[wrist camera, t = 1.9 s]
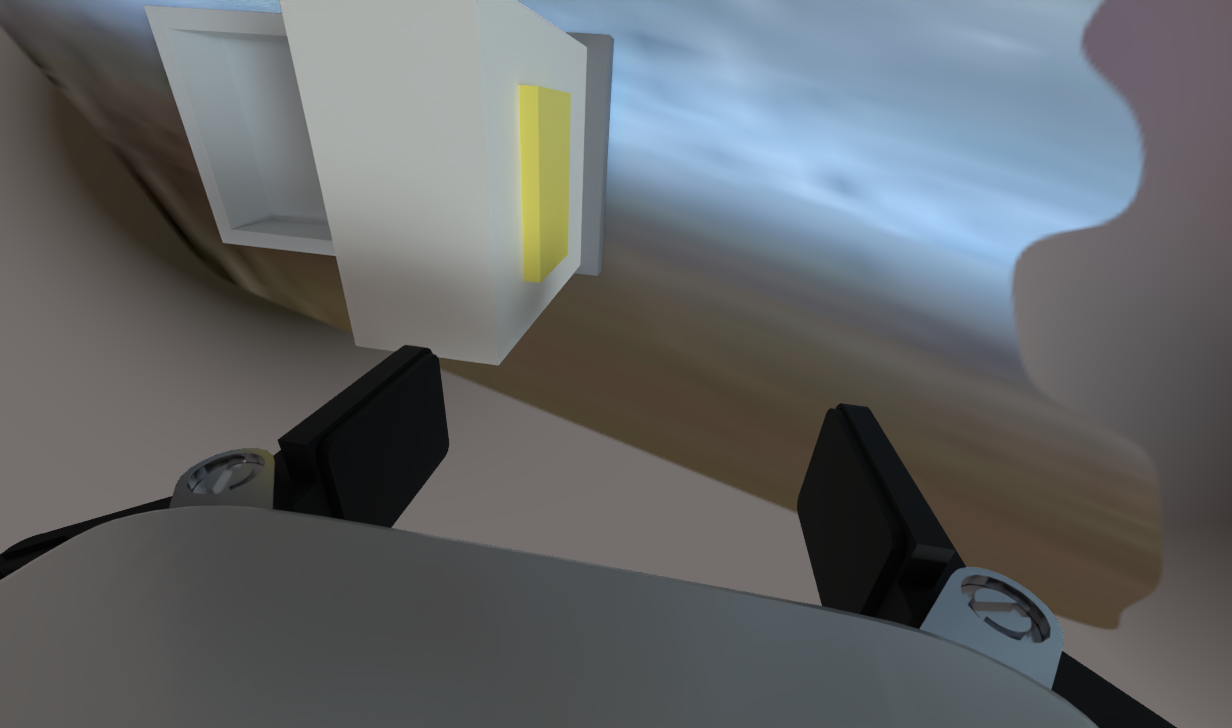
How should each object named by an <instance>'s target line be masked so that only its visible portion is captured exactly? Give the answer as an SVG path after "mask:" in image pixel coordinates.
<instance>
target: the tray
mask: <svg viewBox="0 0 1232 728" xmlns="http://www.w3.org/2000/svg"><path fill="white" fill-rule="evenodd" d="M144 8H145V11H146V14H147V17H148V20H149V23H150V26H151V29H152V32H153V35H154V38H155V41H156V44H157V47H158V50H159V53H160V56H161V59H162V62H163V65H164V68H165V71H166V74H167V77H168V80H169V83H170V86H171V89H172V92H173V95H174V98H175V101H176V104H177V107H178V110H179V113H180V116H181V119H182V122H183V125H184V128H185V131H186V134H187V137H188V140H189V143H190V146H191V149H192V152H193V155H194V158H195V161H196V164H197V167H198V170H199V173H200V176H201V179H202V182H203V185H204V188H205V191H206V194H207V197H208V200H209V203H210V206H211V209H212V212H213V215H214V218H215V221H216V224H217V227H218V230H219V233H220V236H221V239H222V242H223V243H229V244H238V245H246V246H255V247H263V248H272V249H281V250H289V251H298V252H307V253H315V254H324V255H333V256H336V254H335V249H334V245H333V240H332V236H331V231H330V227H329V222H328V218H327V213H326V209H325V204H324V200H323V195H322V191H321V186H320V182H319V177H318V173H317V168H316V164H315V159H314V155H313V150H312V146H311V141H310V137H309V132H308V128H307V123H306V118H305V114H304V109H303V105H302V100H301V96H300V91H299V87H298V82H297V78H296V73H295V69H294V64H293V60H292V55H291V51H290V46H289V42H288V37H287V33H286V28H285V24H284V19H283V15H282V13H265V12H247V11H230V10H212V9H195V8H177V7H160V6H144Z"/></svg>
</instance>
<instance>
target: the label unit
mask: <svg viewBox="0 0 1232 728" xmlns="http://www.w3.org/2000/svg"><path fill="white" fill-rule="evenodd" d="M279 1H280V6H281V10H282V15H283V19H284V24H285V28H286V33H287V37H288V42H289V46H290V51H291V55H292V60H293V64H294V69H295V73H296V78H297V82H298V87H299V91H300V96H301V100H302V105H303V109H304V114H305V118H306V123H307V128H308V132H309V137H310V141H311V146H312V150H313V155H314V159H315V164H316V168H317V173H318V177H319V182H320V186H321V191H322V195H323V200H324V204H325V209H326V213H327V218H328V222H329V227H330V231H331V236H332V240H333V245H334V249H335V254H336V259H337V263H338V268H339V272H340V277H341V281H342V286H343V290H344V295H345V299H346V304H347V308H348V313H349V317H350V322H351V326H352V331H353V335H354V340H355V344H356V346H361V347H368V348H375V349H382V350H390V351H397V350H398V349H399V348H401V347H402V346H404V345H412V346H419V347H426V348H429V349H431V351H432V353H433V354H435V355H437V357H441V358H448V359H455V360H463V361H470V362H477V363H485V364H492V365H499V364H500V363H501V362H502V360H503V359H504V358H505V357H506V356H507V354H508V353H509V352H510V351H511V349H512V348H513V347H514V346H515V344H516V343H517V342H518V341H519V340H520V338H521V337H522V336H523V335H524V333H525V332H526V331H527V330H528V329H529V327H530V326H531V325H532V324H533V322H534V321H535V320H536V319H537V317H538V316H539V315H540V314H541V313H542V311H543V310H544V309H545V308H546V306H547V305H548V304H549V303H550V302H551V300H552V299H553V298H554V297H555V295H556V294H557V293H558V292H559V291H560V289H561V288H562V287H563V286H564V284H565V283H566V282H567V281H568V279H569V278H570V277H571V276H572V275H573V273H577V274H586V275H595V276H598V274H599V273H600V271H601V270H602V252H603V233H604V215H605V196H606V177H607V158H608V140H609V121H610V102H611V83H612V65H613V46H614V39H613V38H612V37H611V36H610V35H603V34H585V33H568V32H564V31H562V30H561V29H559V28H558V27H556V26H555V25H553V24H552V23H550V22H549V21H547V20H546V19H544V18H543V17H541V16H540V15H538V14H537V13H535V12H534V11H532V10H531V9H529V8H528V7H526V6H525V5H523V4H522V3H520V2H519V1H517V0H279Z"/></svg>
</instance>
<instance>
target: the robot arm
mask: <svg viewBox="0 0 1232 728" xmlns="http://www.w3.org/2000/svg"><path fill="white" fill-rule="evenodd" d="M278 442H279V445H280V448H281V450H280V451H279V452H278V453H276V454H275V455H274V456H273V455H272V454H271V453H269V452H268V451H267V450H262V449H259V448H243V449H237V450H230V451H227V452H223V453H220V454H217V455H214V456H212V457H210V458H207V459H205V460H203V461H201V462H199V463H198V464H196V465H194V466H193V467H191V468H190V469H188V470H187V471H186V472H185V473H184V474H183V475H182V476H181V477H180V479H179V480H178V482H177V484H176V486H175V489H174V493H173V496H171V497H167V498H164V499H161V500H157V501H154V502H150V503H147V504H143V505H140V506H137V507H133V508H129V509H126V510H123V511H119V512H115V513H112V514H109V515H105V516H102V517H98V518H95V519H91V520H88V521H84V522H81V523H78V524H74V525H70V526H67V527H63V528H60V529H57V530H53V531H50V532H47V533H43V534H39V535H35V536H32V537H30V538H27V539H25V540H23V541H20V542H19V543H17V544H15V545H13V546H11V547H10V548H8V549H7V550H6V551H5V552H3V553H2V554H0V728H1177V727H1175V726H1173V725H1172V724H1170V723H1169V722H1168V721H1166V720H1165V719H1163V718H1162V717H1160V716H1159V715H1157V714H1156V713H1154V712H1153V711H1151V710H1149V709H1148V708H1147V707H1145V706H1144V705H1142V704H1141V703H1139V702H1138V701H1136V700H1135V699H1133V698H1131V697H1130V696H1129V695H1127V694H1126V693H1124V692H1123V691H1121V690H1120V689H1118V688H1117V687H1115V686H1114V685H1112V684H1111V683H1109V682H1108V681H1106V680H1105V679H1103V678H1102V677H1100V676H1099V675H1097V674H1096V673H1095V672H1093V671H1092V670H1090V669H1089V668H1087V667H1086V666H1084V665H1083V664H1081V663H1079V662H1078V661H1076V660H1075V659H1074V658H1072V657H1071V656H1069V655H1068V654H1066V653H1065V652H1063V651H1062V648H1063V645H1064V637H1063V630H1062V628H1061V626H1060V624H1059V622H1058V620H1057V618H1056V617H1055V616H1054V615H1053V613H1052V612H1051V611H1050V610H1049V608H1048V607H1047V606H1046V605H1045V604H1044V603H1043V602H1042V601H1041V600H1039V599H1038V598H1037V597H1036V596H1035V595H1034V594H1033V593H1032V592H1030V591H1029V590H1027V589H1026V588H1024V587H1023V586H1021V585H1020V584H1018V583H1017V582H1015V581H1013V580H1011V579H1009V578H1007V577H1005V576H1003V575H1001V574H999V573H996V572H993V571H990V570H986V569H983V568H975V567H966V566H965V564H964V562H963V561H962V559H961V558H960V556H959V554H958V553H957V551H956V549H955V548H954V546H953V544H952V543H951V541H950V540H949V538H948V536H947V535H946V533H945V531H944V530H943V528H942V526H941V525H940V523H939V522H938V520H937V518H936V517H935V515H934V513H933V512H932V510H931V508H930V507H929V505H928V503H927V502H926V500H925V499H924V497H923V495H922V494H921V492H920V490H919V489H918V487H917V485H916V484H915V482H914V481H913V479H912V477H911V476H910V474H909V473H908V471H907V469H906V468H905V466H904V464H903V463H902V461H901V460H900V458H899V456H898V455H897V453H896V451H895V450H894V448H893V446H892V445H891V443H890V441H889V440H888V438H887V437H886V435H885V433H884V432H883V430H882V428H881V427H880V425H879V423H878V422H877V420H876V419H875V417H874V415H873V414H872V412H871V410H870V409H869V408H868V407H864V406H857V405H849V404H842V403H841V404H839V405H838V406H837V407H836V409H832V408H830V409H829V410H828V411H827V413H826V416H825V419H824V422H823V425H822V428H821V431H820V434H819V437H818V440H817V443H816V446H815V449H814V452H813V455H812V458H811V461H810V464H809V467H808V470H807V473H806V476H805V479H804V482H803V485H802V488H801V491H800V494H799V497H798V502H797V511H798V515H799V519H800V523H801V527H802V531H803V535H804V539H805V542H806V546H807V550H808V554H809V558H810V561H811V565H812V569H813V573H814V577H815V580H816V584H817V588H818V592H819V596H820V599H821V604H822V606H819V605H814V604H808V603H802V602H797V601H791V600H787V599H782V598H777V597H771V596H766V595H761V594H756V593H750V592H745V591H739V590H734V589H729V588H723V587H718V586H712V585H707V584H702V583H696V582H690V581H685V580H680V579H674V578H669V577H664V576H658V575H653V574H648V573H642V572H636V571H631V570H626V569H620V568H615V567H609V566H603V565H598V564H593V563H587V562H581V561H576V560H570V559H565V558H559V557H553V556H547V555H542V554H536V553H531V552H525V551H520V550H514V549H509V548H503V547H498V546H492V545H486V544H481V543H475V542H469V541H463V540H458V539H452V538H446V537H440V536H434V535H429V534H423V533H417V532H411V531H405V530H400V529H394V528H391V527H392V526H393V525H394V523H395V522H396V521H397V519H398V518H399V517H400V515H401V514H402V513H403V511H404V510H405V509H406V508H407V506H408V505H409V504H410V502H411V501H412V500H413V498H414V497H415V496H416V494H417V493H418V492H419V490H420V489H421V488H422V486H423V485H424V484H425V483H426V481H427V480H428V479H429V477H430V476H431V475H432V473H433V471H435V469H436V468H437V467H438V465H439V464H440V463H441V461H442V460H443V459H444V458H445V456H446V454H447V452H448V448H449V437H448V429H447V422H446V414H445V405H444V397H443V389H442V381H441V374H440V365H439V359H438V357H437V355H435V354H433V353H432V351H431V349H429V348H426V347H419V346H412V345H404V346H402V347H401V348H399V349H398V350H397V351H395V352H394V353H393V354H392V355H390V356H389V357H387V358H386V359H385V360H383V361H382V362H381V363H379V364H378V365H377V366H375V367H374V368H373V369H371V370H370V371H369V372H367V373H366V374H365V375H363V376H362V377H361V378H359V379H358V380H357V381H356V382H354V383H353V384H352V385H350V386H349V387H347V388H346V389H345V390H343V391H342V392H341V393H339V394H338V395H337V396H335V397H334V398H333V399H331V400H330V401H329V402H328V403H326V404H325V405H324V406H322V407H321V408H320V409H318V410H317V411H316V412H314V413H313V414H311V415H310V416H309V417H308V418H306V419H305V420H303V421H302V422H301V423H300V424H298V425H297V426H295V427H294V428H293V429H292V430H290V431H289V432H288V433H286V434H285V435H283V436H282V437H281V438H280V439H278Z"/></svg>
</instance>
